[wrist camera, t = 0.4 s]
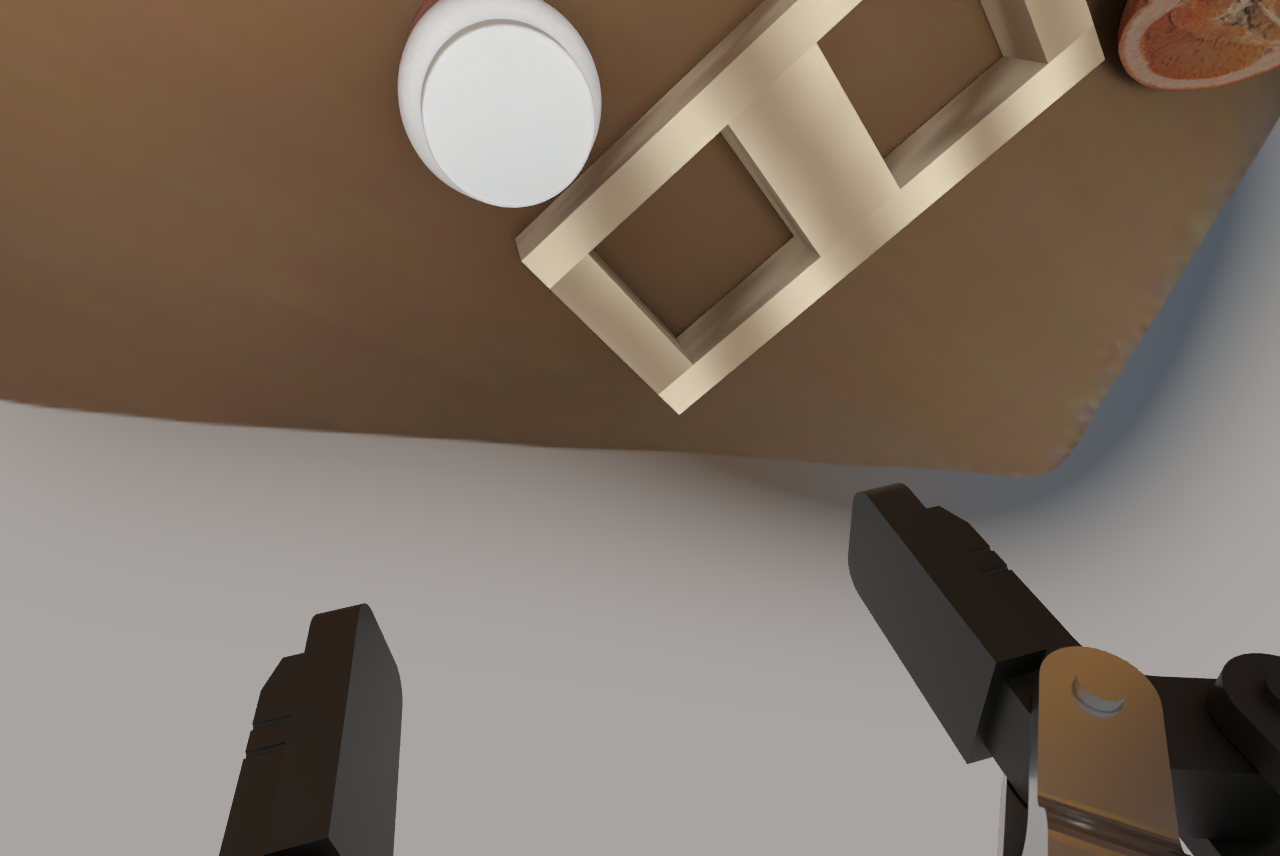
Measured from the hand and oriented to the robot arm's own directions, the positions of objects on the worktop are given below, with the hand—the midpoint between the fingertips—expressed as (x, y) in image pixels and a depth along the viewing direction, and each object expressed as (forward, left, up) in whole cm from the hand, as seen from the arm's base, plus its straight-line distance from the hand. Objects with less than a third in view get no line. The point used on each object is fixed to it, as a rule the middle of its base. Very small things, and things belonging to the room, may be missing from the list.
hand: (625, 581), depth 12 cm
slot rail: (-11, +7, -24) cm, 27 cm away
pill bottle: (-3, -4, -24) cm, 24 cm away
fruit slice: (-28, +14, -24) cm, 39 cm away
